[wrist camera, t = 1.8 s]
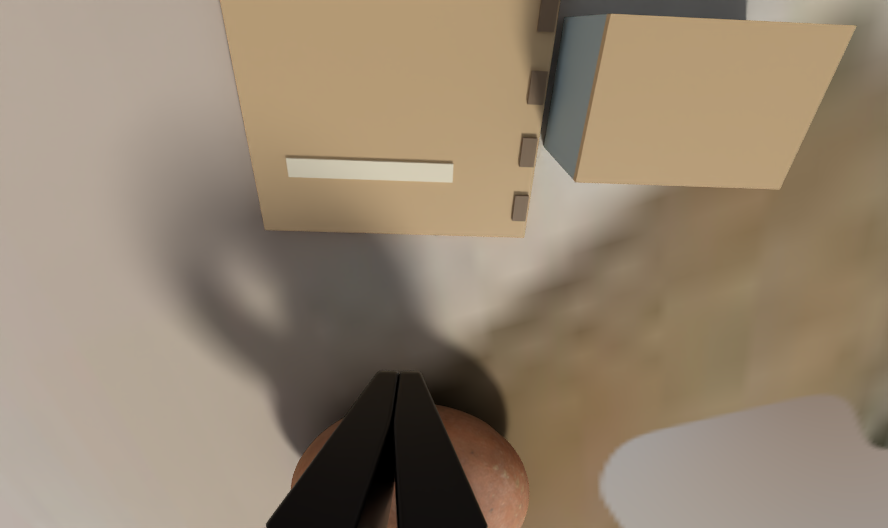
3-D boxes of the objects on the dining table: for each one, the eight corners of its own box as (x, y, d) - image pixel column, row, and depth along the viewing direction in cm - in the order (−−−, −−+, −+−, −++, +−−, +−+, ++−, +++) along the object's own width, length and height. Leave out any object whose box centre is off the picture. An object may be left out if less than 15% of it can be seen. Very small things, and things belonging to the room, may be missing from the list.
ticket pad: (576, -132, 13) (583, -140, 13) (521, 232, 20) (524, 239, 19) (197, -154, 13) (185, -164, 12) (269, 224, 19) (263, 231, 19)
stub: (746, 26, 16) (856, 25, 12) (701, 152, 18) (779, 189, 14) (564, 17, 15) (610, 13, 11) (543, 146, 18) (575, 182, 14)
